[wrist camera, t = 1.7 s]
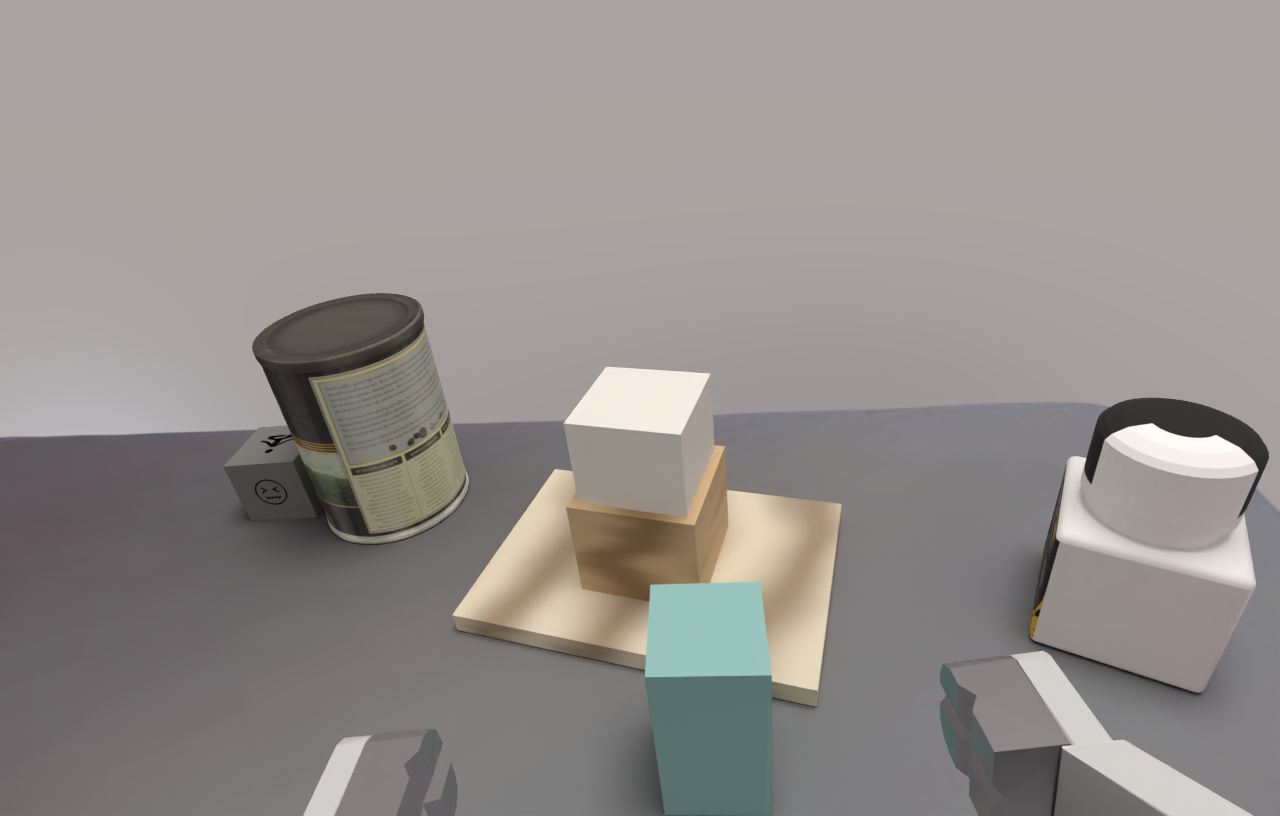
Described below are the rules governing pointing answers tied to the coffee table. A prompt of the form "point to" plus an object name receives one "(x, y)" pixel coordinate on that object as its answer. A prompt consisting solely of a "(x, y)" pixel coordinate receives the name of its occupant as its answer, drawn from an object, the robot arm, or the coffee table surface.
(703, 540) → the oak block
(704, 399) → the white block
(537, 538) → the birch board
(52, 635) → the coffee table surface
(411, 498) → the coffee can
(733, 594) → the teal block
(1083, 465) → the medicine bottle
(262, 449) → the dice cube
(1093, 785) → the robot arm
